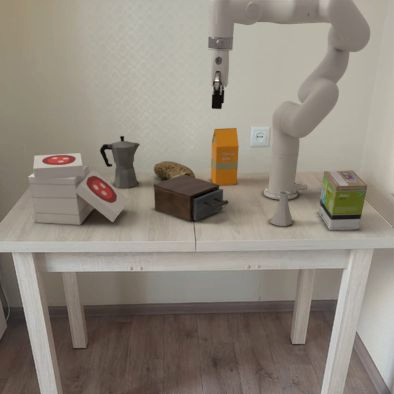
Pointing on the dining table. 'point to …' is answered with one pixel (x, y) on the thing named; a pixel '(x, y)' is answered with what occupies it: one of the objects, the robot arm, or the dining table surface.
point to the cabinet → (180, 195)
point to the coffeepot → (122, 162)
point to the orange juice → (224, 156)
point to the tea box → (342, 200)
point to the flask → (282, 211)
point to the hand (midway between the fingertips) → (217, 105)
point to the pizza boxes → (71, 190)
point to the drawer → (207, 203)
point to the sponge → (172, 170)
